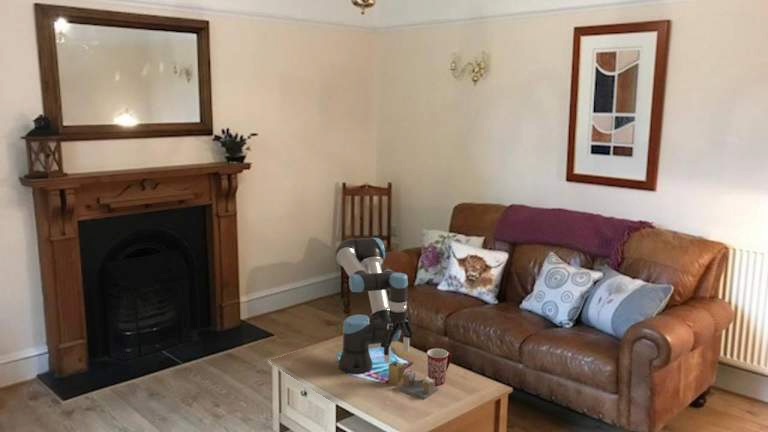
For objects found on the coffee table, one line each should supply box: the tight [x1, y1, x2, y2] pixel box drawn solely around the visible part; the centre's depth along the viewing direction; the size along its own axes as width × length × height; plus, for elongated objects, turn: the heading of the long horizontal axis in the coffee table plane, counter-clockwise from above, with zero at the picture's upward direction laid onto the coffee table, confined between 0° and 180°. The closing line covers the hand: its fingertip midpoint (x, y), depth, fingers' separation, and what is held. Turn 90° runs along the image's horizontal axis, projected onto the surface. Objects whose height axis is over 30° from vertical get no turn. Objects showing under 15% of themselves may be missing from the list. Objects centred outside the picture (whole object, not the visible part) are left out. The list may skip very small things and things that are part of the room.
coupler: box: [387, 360, 405, 386], centre depth 276 cm, size 5×4×8 cm
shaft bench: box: [398, 370, 439, 400], centre depth 269 cm, size 13×10×7 cm
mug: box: [426, 348, 452, 386], centre depth 277 cm, size 13×9×14 cm
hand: (396, 356), depth 274 cm, fingers open, 13 cm apart
